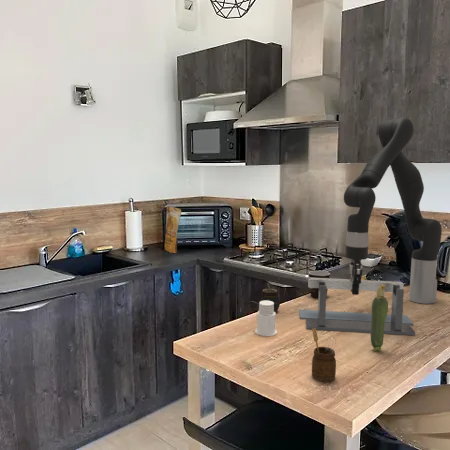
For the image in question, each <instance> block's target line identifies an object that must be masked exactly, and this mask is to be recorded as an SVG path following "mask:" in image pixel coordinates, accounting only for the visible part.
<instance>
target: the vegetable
mask: <svg viewBox="0 0 450 450" xmlns="http://www.w3.org/2000/svg"><path fill="white" fill-rule="evenodd" d="M383 288H384V289H385V284H382V285H380V287H379V288H378V289H377V291H375V292H376V293H375V294H376V296H375V297H374V298H373V299H372V302H371V303H372V304H371V313H372V325H371V333H370V343H371V346H372V348H373V350H374V352H377V351H381V350H382V346H383V345H384V335H385V334H384V324H385V319H386V316H387V314H388V311H389V303H388V300H387V298H386V297H385V292H384V289H383ZM385 290H386V289H385Z"/></svg>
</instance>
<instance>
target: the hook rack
mask: <svg viewBox="0 0 450 450" xmlns="http://www.w3.org/2000/svg"><path fill="white" fill-rule="evenodd" d="M326 288H327V286H325V282H321V281H319V299H317V300H318V301H317V305H318V308H317V310H318V319H307V318H306V319H305V325H306V326H305V327H306V330H310V331H311V330H312V329H313V331H314V329H315V328H316V331H327V332H328V331H329V332H331V331H333V332H346V333H347V332H349V333H363V334H365V333H366V334H368V333H369V334H371V325H372V322H362V321H344V320H326V319H325V314H326V311H327V308H326V307H327V297H326ZM391 293H392V295H391V297H392V298H391V310H390V311H391V313H390V314H391V323H385V324H384V335H399V336H413V337H415V336H416V332H415V330H414V328H412V327H411V326H412V325H409V324H402V315H403V311H404V309H403V308H404V297H405V296H404V295H405V289H404V288H403V289H400V285H393V292H391Z"/></svg>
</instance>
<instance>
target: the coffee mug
mask: <svg viewBox="0 0 450 450" xmlns="http://www.w3.org/2000/svg"><path fill="white" fill-rule="evenodd" d="M309 277H311V278H331V273H330V272H328V271H322V270H311V271H309V272H308V278H309ZM328 290H329V289H326V298H327V296H328ZM309 291H310V292H309V293H310V298H311V299H315V300H318V299H319V288H309Z"/></svg>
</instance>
